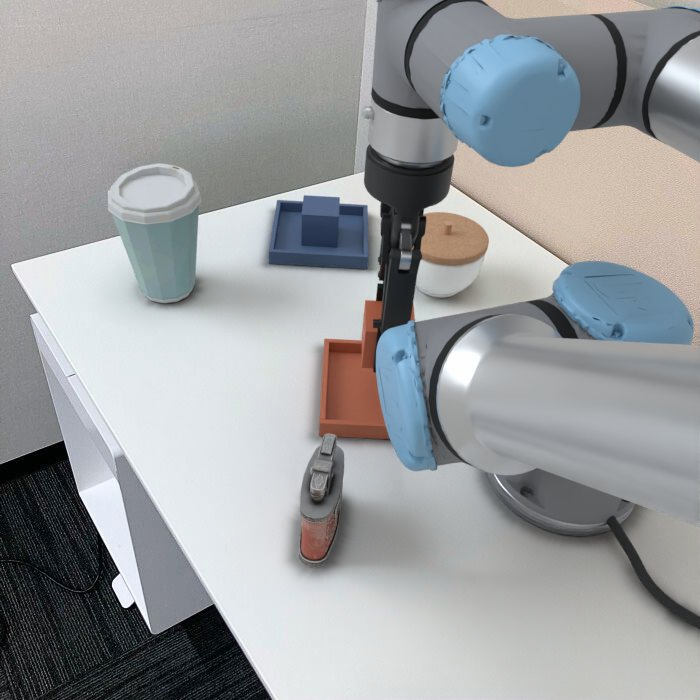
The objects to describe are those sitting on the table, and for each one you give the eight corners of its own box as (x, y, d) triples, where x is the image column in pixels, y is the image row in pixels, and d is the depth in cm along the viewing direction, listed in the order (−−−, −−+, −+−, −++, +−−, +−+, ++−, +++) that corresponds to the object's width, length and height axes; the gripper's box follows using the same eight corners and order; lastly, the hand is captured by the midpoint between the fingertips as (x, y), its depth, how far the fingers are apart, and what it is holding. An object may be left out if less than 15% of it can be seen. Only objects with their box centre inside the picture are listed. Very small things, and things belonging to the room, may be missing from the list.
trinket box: (482, 311, 94) (496, 250, 88) (398, 306, 94) (406, 244, 87) (474, 262, 102) (486, 203, 96) (396, 257, 102) (403, 198, 95)
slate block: (337, 247, 102) (339, 216, 98) (301, 245, 102) (301, 214, 98) (338, 227, 105) (339, 197, 102) (303, 225, 105) (303, 195, 102)
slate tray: (367, 269, 99) (368, 256, 98) (268, 263, 99) (268, 251, 97) (366, 216, 109) (367, 204, 108) (277, 211, 109) (277, 199, 107)
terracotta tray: (445, 442, 77) (447, 429, 76) (318, 436, 77) (319, 423, 75) (435, 356, 87) (437, 344, 86) (323, 351, 87) (324, 338, 85)
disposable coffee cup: (172, 325, 88) (157, 217, 78) (104, 294, 92) (82, 187, 82) (226, 281, 95) (218, 177, 85) (161, 254, 99) (146, 151, 89)
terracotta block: (409, 370, 76) (415, 334, 73) (361, 368, 76) (365, 331, 73) (407, 338, 80) (413, 302, 76) (361, 336, 80) (365, 299, 76)
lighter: (329, 570, 65) (334, 502, 58) (292, 563, 65) (293, 494, 59) (345, 497, 71) (352, 428, 64) (311, 491, 71) (314, 421, 65)
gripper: (366, 100, 69) (351, 296, 84) (367, 201, 55) (349, 412, 71) (446, 105, 69) (416, 300, 85) (466, 207, 56) (426, 416, 71)
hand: (385, 351), depth 78 cm, fingers closed on terracotta block, 5 cm apart
